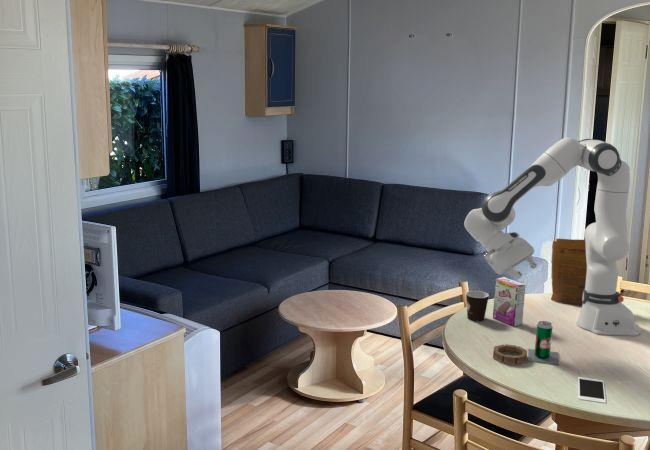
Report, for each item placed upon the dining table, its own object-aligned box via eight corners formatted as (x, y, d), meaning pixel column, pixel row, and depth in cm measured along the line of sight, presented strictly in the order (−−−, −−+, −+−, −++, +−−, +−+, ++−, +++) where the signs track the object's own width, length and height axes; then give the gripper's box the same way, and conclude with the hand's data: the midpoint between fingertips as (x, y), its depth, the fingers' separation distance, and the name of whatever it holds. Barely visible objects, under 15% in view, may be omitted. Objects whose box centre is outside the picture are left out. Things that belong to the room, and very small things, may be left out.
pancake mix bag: (595, 309, 294) (602, 242, 287) (546, 302, 301) (552, 237, 294) (595, 304, 300) (602, 238, 293) (548, 297, 307) (554, 233, 300)
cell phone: (578, 400, 217) (578, 398, 217) (577, 378, 232) (577, 376, 231) (605, 404, 214) (606, 402, 214) (603, 382, 229) (603, 380, 229)
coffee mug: (487, 323, 276) (489, 298, 274) (464, 321, 278) (465, 296, 276) (486, 313, 287) (488, 289, 285) (464, 311, 289) (466, 287, 287)
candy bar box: (491, 318, 282) (494, 278, 278) (500, 316, 284) (503, 276, 281) (513, 327, 273) (517, 286, 269) (522, 324, 275) (526, 284, 272)
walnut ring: (526, 353, 249) (527, 346, 248) (526, 366, 239) (527, 359, 238) (494, 349, 252) (494, 343, 251) (492, 362, 242) (492, 355, 241)
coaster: (558, 353, 250) (558, 352, 249) (559, 365, 240) (559, 364, 240) (528, 349, 252) (528, 348, 252) (528, 361, 243) (528, 360, 243)
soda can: (539, 360, 243) (542, 326, 240) (531, 354, 248) (534, 321, 245) (552, 358, 244) (555, 325, 242) (544, 352, 249) (547, 319, 246)
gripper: (485, 249, 252) (514, 277, 246) (519, 230, 264) (547, 256, 258) (478, 261, 256) (506, 288, 251) (511, 241, 268) (539, 267, 263)
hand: (527, 272), depth 255 cm, fingers open, 8 cm apart
